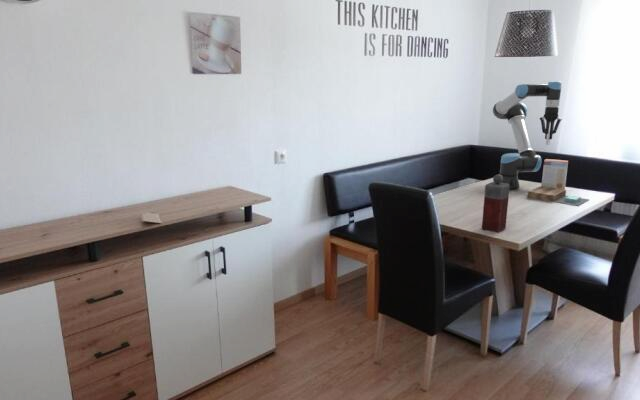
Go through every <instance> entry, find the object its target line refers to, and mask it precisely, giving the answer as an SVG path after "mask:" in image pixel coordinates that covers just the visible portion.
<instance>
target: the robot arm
mask: <svg viewBox="0 0 640 400" xmlns="http://www.w3.org/2000/svg"><path fill="white" fill-rule="evenodd" d="M561 91H562V82H561V80H560V81H556V80H555V81H553V80H551V81H550V80H549V81H548V83H546V84H545V83H536V84H535V83H534V84H533V83H532V84H525V83H524V84H523V83H522V84H518V85H516V87H515V89H514V92H512V93H511V94H510V95H508V96H507V97H505V98H504V99H503V100H499V101H498V102H496V103H495V104H494V106H493V107H492V113H493V115H494V116H495V117H496V118H497V119H500V120H507V123H508V124H509V125H511V128H512V131H513V132H512V133H513V135H514V136H513V137H514V138H515V144H516V147H517V150H518V151H517V152H508V153H504V154H502V156H501V157H500V158H501V159H500V168H499V174H500V175H502V177H503V181H502V182H501V183H507V184H509V185H510V188H509V191H513V190H514V191H515V190H516V191H517V190H519V189H520V181H519V177H518V176H519V173H534V172H535V173H536V172H538V171H539V170H540V168H541V166H542V157H541V155H539V154H536V153H537V152H536V151H535V149H533V148H532V145H531V141H530V140H531V139H530V138H529V135H528V134H529V133H528V130H527V127H526V123H525V120H526V118H527V115H528V108H527V106H526V104H525V103H523V102H522V101H524V100H525V99H526V98H529V97H546V100H545V109H544V114H543V116H541V117H539V120H540V125H541V130H542V133H543V134H545V135H544V139H545V140H546V141H545V145H547V146H548V145H549V146H550V144H551V140H552V139H553V135H554V134H556V133H557V131H558V128H559V125H560V123H561V121H562V120H563V119H562V118H561V117H560V116H559V109H560V108H559V106H560V101H561V100H560V99H561ZM545 121H546V122H545Z"/></svg>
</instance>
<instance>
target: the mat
mask: <svg viewBox="0 0 640 400" xmlns="http://www.w3.org/2000/svg"><path fill="white" fill-rule="evenodd" d="M568 196H569V195H565V196H564V197H562V198H560V199H558V200H556V201H554V202H553V203H557V204H558V203H559V204H563V205H564V204H565V205H569V206H570V205H571V206H576V207H579V206H581V205H583V204H585V203H586V202H588V201H590V199H588V198H582V197H581V199H580V201H578V202H576V203H573V202H567V201H565V198H566V197H568Z"/></svg>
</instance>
